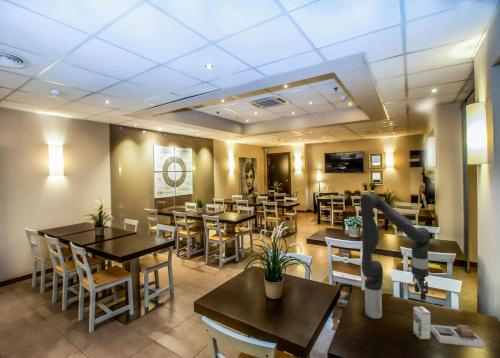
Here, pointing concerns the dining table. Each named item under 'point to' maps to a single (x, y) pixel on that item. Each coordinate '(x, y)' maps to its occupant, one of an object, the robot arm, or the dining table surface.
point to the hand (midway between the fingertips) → (420, 295)
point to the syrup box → (421, 323)
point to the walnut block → (465, 331)
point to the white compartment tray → (454, 336)
